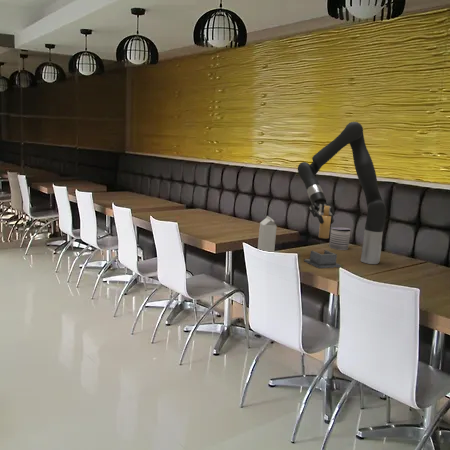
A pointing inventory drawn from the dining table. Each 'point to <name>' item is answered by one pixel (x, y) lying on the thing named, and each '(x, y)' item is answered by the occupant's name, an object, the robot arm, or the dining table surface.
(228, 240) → the dining table surface
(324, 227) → the amber bottle
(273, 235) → the milk carton
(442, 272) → the dining table surface
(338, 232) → the can
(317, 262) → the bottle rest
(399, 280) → the dining table surface
